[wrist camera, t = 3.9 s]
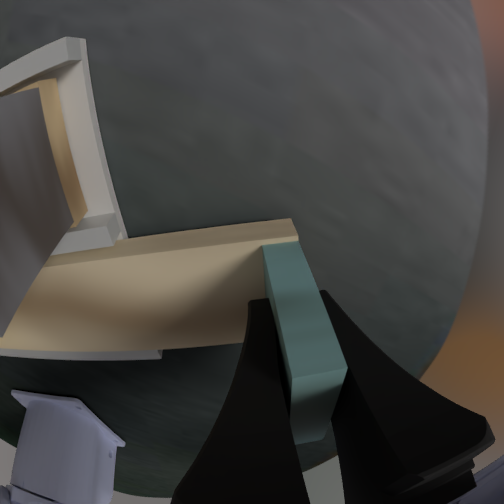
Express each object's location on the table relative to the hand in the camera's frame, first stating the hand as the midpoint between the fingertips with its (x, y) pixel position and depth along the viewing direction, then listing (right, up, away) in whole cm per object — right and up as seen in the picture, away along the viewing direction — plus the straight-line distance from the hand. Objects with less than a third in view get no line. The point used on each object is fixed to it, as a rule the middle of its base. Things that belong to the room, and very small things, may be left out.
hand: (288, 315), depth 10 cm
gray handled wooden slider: (-18, +4, -2) cm, 19 cm away
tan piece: (-11, 0, +1) cm, 11 cm away
